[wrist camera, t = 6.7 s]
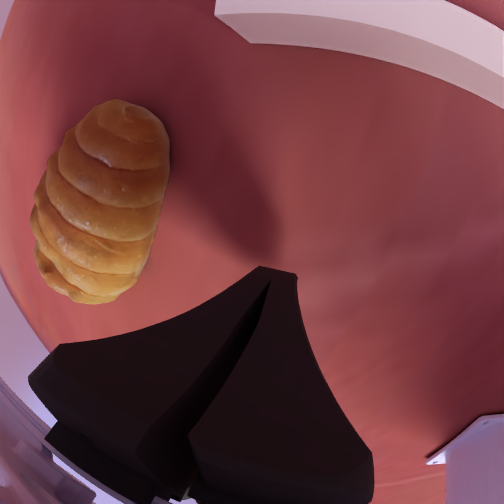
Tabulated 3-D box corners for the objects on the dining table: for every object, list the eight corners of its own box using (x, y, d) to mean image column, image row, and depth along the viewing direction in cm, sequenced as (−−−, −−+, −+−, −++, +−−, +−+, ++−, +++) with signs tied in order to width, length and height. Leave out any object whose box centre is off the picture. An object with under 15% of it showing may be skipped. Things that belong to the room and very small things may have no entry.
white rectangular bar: (573, 126, 4) (615, 138, 1) (570, 157, 4) (612, 176, 2) (254, 7, 6) (221, -30, 4) (250, 43, 7) (214, 15, 5)
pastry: (108, 75, 9) (40, 76, 6) (221, 153, 10) (163, 174, 6) (60, 222, 14) (13, 250, 11) (135, 296, 14) (93, 339, 11)
